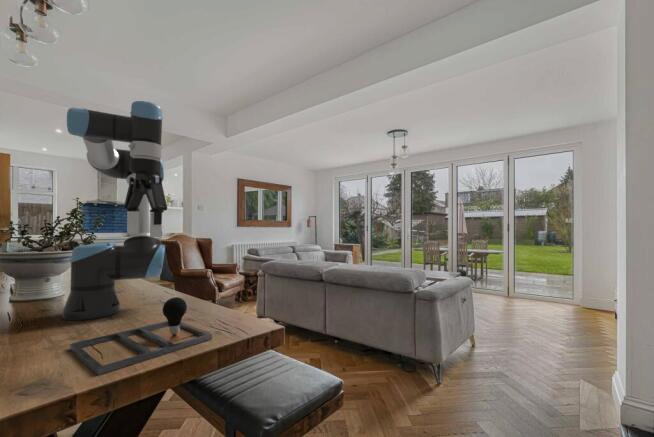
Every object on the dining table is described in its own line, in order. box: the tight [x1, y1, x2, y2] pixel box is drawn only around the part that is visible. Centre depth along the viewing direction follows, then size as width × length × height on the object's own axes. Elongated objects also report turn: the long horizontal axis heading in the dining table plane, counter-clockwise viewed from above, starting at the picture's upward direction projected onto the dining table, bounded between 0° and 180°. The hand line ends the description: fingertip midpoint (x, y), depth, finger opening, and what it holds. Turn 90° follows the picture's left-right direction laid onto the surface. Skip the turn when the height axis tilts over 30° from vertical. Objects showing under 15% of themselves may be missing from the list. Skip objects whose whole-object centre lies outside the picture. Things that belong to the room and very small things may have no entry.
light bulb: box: [162, 296, 188, 335], centre depth 82 cm, size 6×6×10 cm
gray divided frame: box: [69, 320, 213, 376], centre depth 77 cm, size 20×25×1 cm
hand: (143, 235), depth 85 cm, fingers open, 13 cm apart
